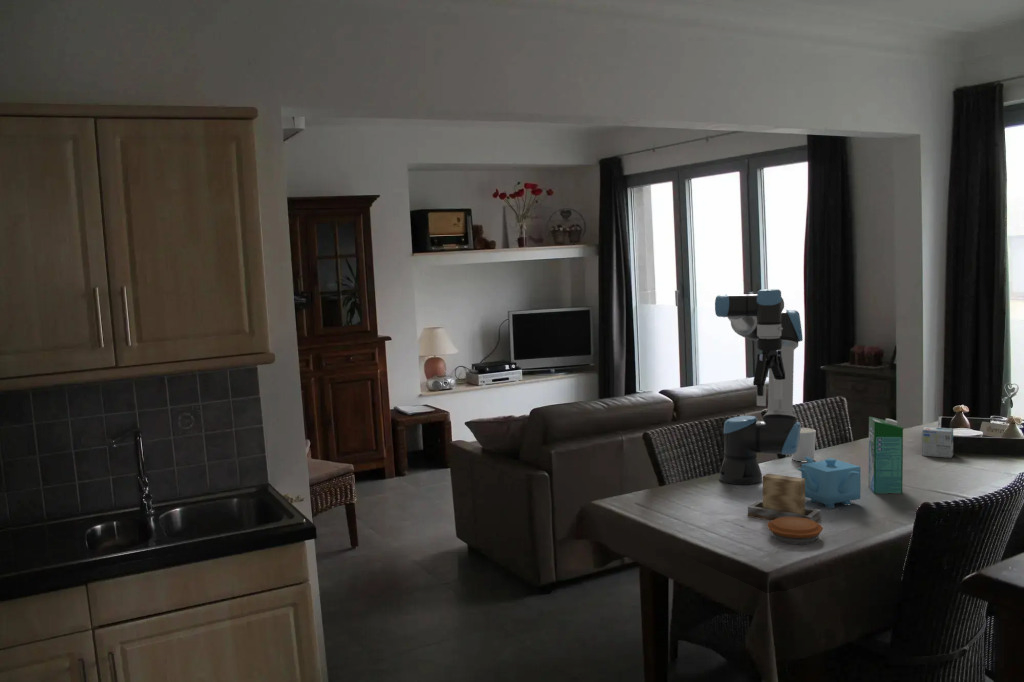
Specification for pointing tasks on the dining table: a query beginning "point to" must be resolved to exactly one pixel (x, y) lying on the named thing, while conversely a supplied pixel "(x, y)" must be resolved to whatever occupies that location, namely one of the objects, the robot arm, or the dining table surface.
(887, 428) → the milk carton
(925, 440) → the light bulb box
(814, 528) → the pie
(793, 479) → the beige square slab
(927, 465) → the dining table surface
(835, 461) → the blue lidded box
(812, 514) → the tray
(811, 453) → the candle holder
